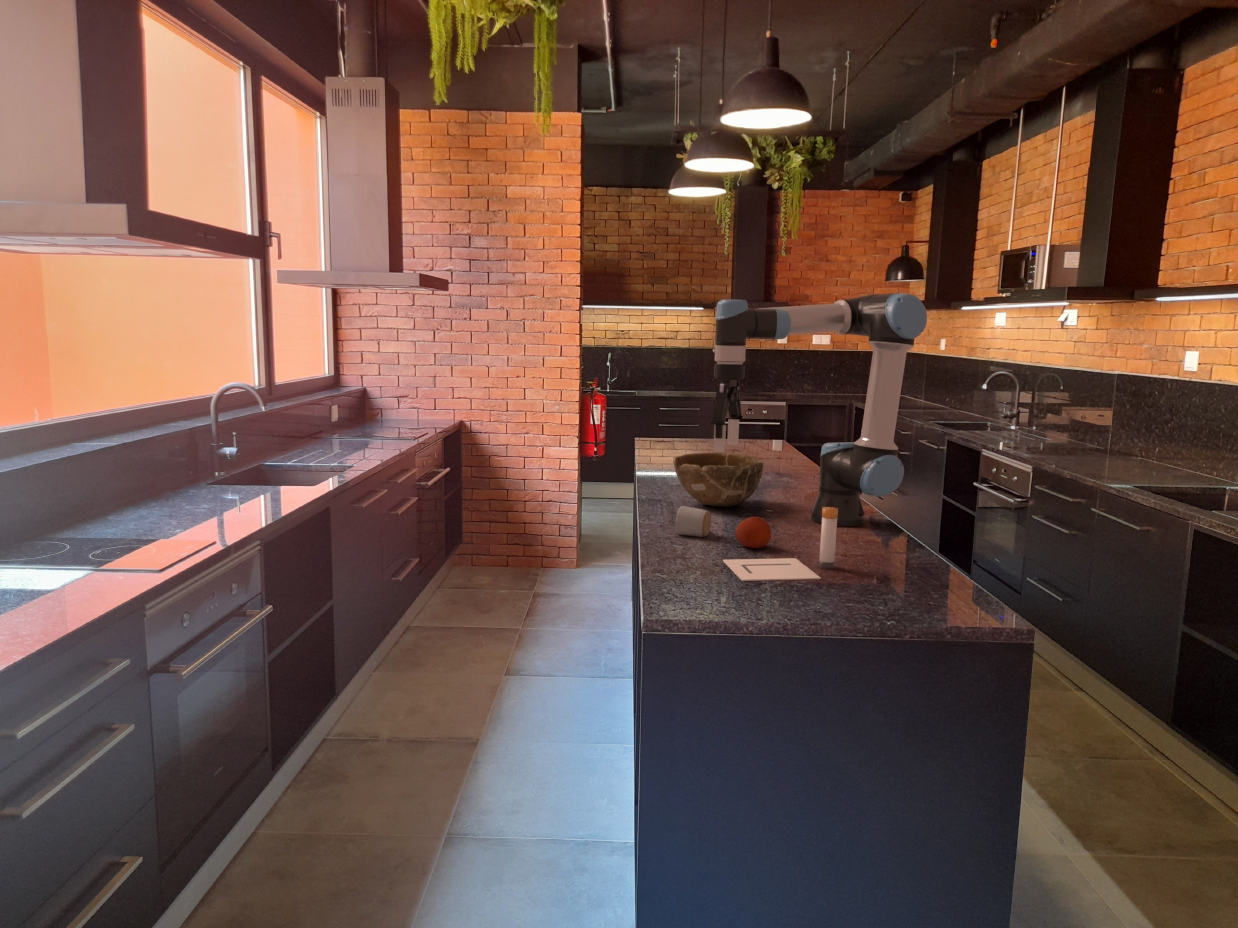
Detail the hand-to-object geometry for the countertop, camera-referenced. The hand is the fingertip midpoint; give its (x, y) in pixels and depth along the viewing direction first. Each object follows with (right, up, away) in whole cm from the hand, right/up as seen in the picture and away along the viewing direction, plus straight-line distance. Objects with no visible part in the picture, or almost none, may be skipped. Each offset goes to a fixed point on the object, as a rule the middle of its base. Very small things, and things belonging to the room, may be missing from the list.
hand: (726, 448), depth 212 cm
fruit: (+7, -25, +1) cm, 26 cm away
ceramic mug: (-7, -23, +14) cm, 28 cm away
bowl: (+4, -17, +50) cm, 53 cm away
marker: (+21, -28, -15) cm, 39 cm away
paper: (+8, -28, -18) cm, 35 cm away
